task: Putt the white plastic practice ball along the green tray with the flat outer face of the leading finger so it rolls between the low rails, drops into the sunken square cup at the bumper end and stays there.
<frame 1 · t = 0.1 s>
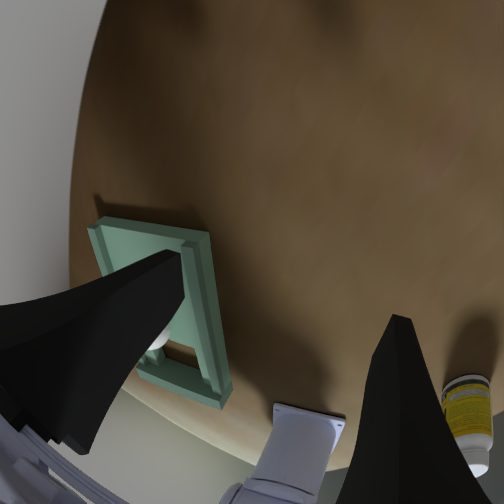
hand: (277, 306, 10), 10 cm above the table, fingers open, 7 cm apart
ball: (148, 327, 27), point 3 cm above the table, touching green tray
supplement bottle: (465, 387, 22), on the table
green tray: (172, 315, 30), on the table
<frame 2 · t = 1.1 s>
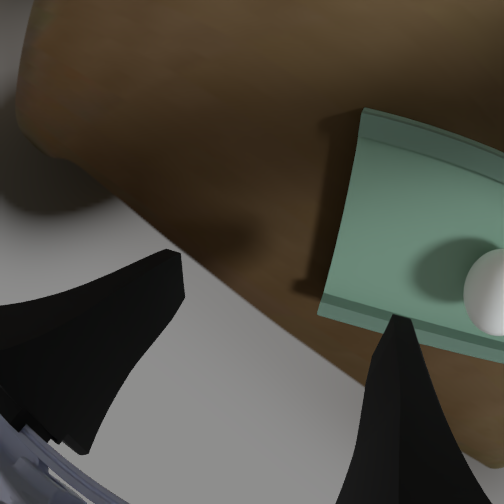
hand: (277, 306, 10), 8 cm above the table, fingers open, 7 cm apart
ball: (501, 292, 11), point 3 cm above the table, touching green tray
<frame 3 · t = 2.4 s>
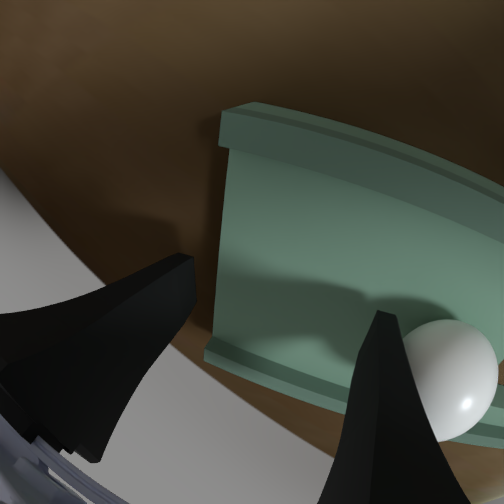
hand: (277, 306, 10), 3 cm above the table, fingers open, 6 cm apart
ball: (440, 381, 8), point 3 cm above the table, touching gripper, green tray
green tray: (464, 320, 11), on the table
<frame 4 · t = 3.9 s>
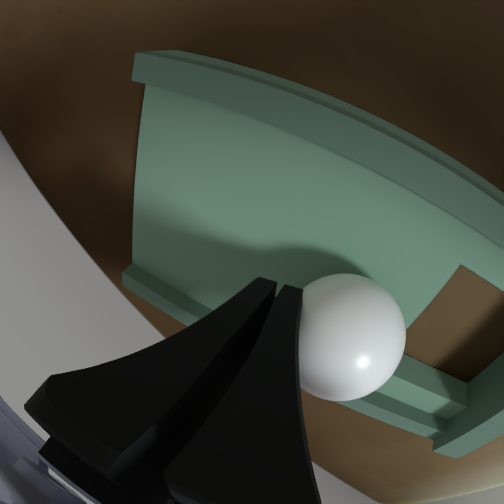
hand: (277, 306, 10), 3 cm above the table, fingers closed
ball: (342, 337, 9), point 3 cm above the table, tilted 31°, touching gripper, green tray
green tray: (371, 275, 12), on the table
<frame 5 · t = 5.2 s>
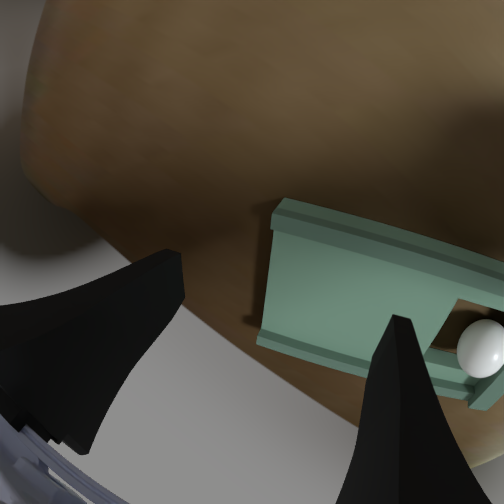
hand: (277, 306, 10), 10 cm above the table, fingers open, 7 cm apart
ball: (483, 348, 16), point 2 cm above the table, tilted 132°
green tray: (412, 309, 19), on the table
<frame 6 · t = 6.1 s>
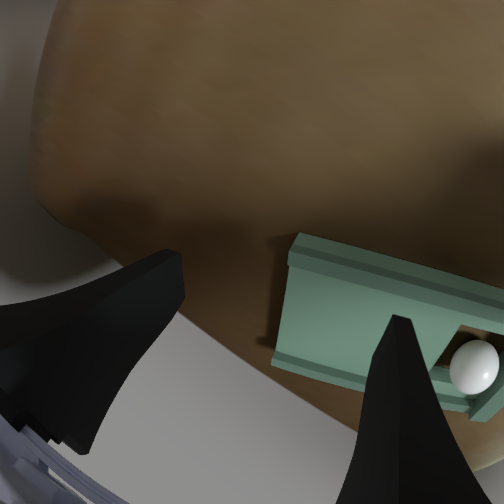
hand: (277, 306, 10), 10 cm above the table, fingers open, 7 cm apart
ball: (474, 367, 17), point 2 cm above the table, tilted 149°
green tray: (417, 332, 20), on the table
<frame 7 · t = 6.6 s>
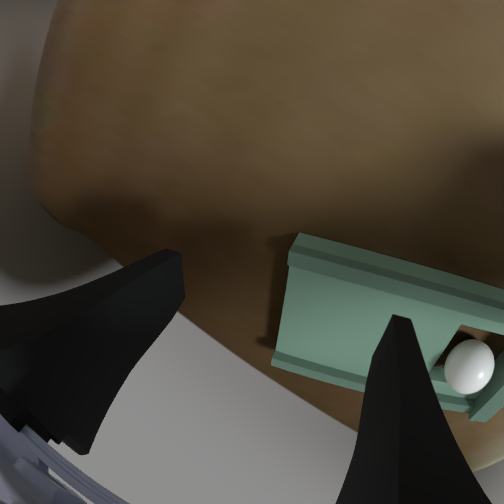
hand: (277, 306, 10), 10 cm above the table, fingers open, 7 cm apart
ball: (469, 366, 18), point 2 cm above the table, tilted 156°
green tray: (417, 332, 20), on the table
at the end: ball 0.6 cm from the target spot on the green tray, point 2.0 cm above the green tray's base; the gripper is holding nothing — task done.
